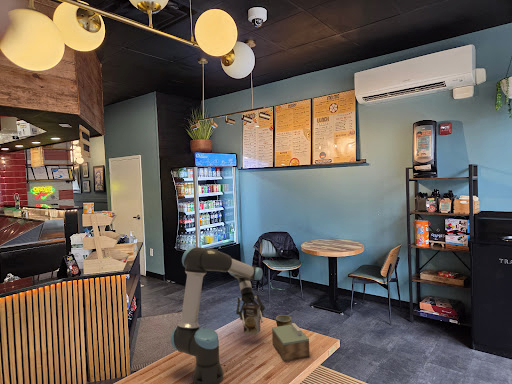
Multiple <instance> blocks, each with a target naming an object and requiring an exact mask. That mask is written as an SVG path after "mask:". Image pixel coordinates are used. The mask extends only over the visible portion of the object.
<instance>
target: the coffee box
mask: <svg viewBox="0 0 512 384" xmlns="http://www.w3.org/2000/svg"><path fill="white" fill-rule="evenodd" d="M242 313H243V316H244V321H245V325H244V326H243V334H248V335H257V336H258V335H259V334H260V332H261V320H260V305H259V304H258V305H253V304H252V303H251V304H245V306H244V307H243V311H242Z"/></svg>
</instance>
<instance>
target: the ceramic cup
mask: <svg viewBox="0 0 512 384" xmlns="http://www.w3.org/2000/svg"><path fill="white" fill-rule="evenodd" d="M275 323H276V327H278V326H285V325H291V323H292V317H291V316H290V315H287V314H278V315H277V316H276V317H275Z"/></svg>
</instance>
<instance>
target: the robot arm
mask: <svg viewBox="0 0 512 384" xmlns="http://www.w3.org/2000/svg"><path fill="white" fill-rule="evenodd" d="M181 263H182V266H183V267H184V268H185V269H184V272H185V274H186V281H185V287H184V288H185V289H184V296H183V302H182V309H181V310H182V311H181V316H180V317H181V318H180V319H181V320H180V321H179V322H178V323H177V326H176V327H175V328H174V329H173V331H172V332H171V334H170V344H171V346H172V348H173V349H174V350H175V351H178V352H180V353H184V354H185V355H186V354H187V355H191V356H193V357H195V367H194V371H193V375H192V381H193V384H220V383H221V382H222V381H223V379H224V370H223V367H222V365H221V363H220V341H219V335H218V332H217V331H216V330H214V329H212V328H209V327H207V328H200V327H201V326H200V324H199V323H198V318H199V311H200V305H201V304H200V303H201V295H202V288H203V287H202V286H203V281H204V280H203V279H204V276H205V275H206V274H207V271H209V272H222V273H227V272H228V273H229V275H230V276H232V277H234V278H235V279H237V280H238V285H239V289H240V294H241V295H240V296H241V297H237V299H236V301H237V305H236V312H235V313H236V315H239V320H241V321H242V326H243V327H244V325H245V321H244V316H243V307H244V306H245V305H246V304H253V305H260V324H262V323H263V322H264V319H263V317H264V313H263V312H264V311H265V309H266V308H265V306H264V304H263V302H262V301H261V299H260V296H259V294H257V295H254V292H253V288H252V283H251V280H254V281H260V280H261V279H262V278H263V273H264V272H263V269H262V268H260V267H258V266H257V267H256V266H253V265H250V264H247V263H245V262H242V261H239V260H237V259H235V258H232V257H231V255H229V254H227V253H224V252H222V251H219V250H218V249H214V248H207V247H198V246H195V247H194V246H192V247H188V248H187V249H186V250H185V251H184V253H183V254H182V257H181ZM256 301H257V302H256ZM241 302H243V303H242V306H240V305H241ZM240 307H241V308H240Z"/></svg>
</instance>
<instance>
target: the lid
mask: <svg viewBox="0 0 512 384" xmlns="http://www.w3.org/2000/svg"><path fill="white" fill-rule="evenodd" d="M272 330H273V331H274V333H275V334H276V336H277V337H278V339H279V340H280V341H281V343H282V344H283V345H289V344H295V343H301V342H306V341H309V342H310V338H309V337H308V336H307V335H306V334H305V332H303V330H302V329H301V328H300V327H299V326H298V325H297V324H296V322H291V325H285V326H278V327H277V326H274V327H271V331H272Z"/></svg>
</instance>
